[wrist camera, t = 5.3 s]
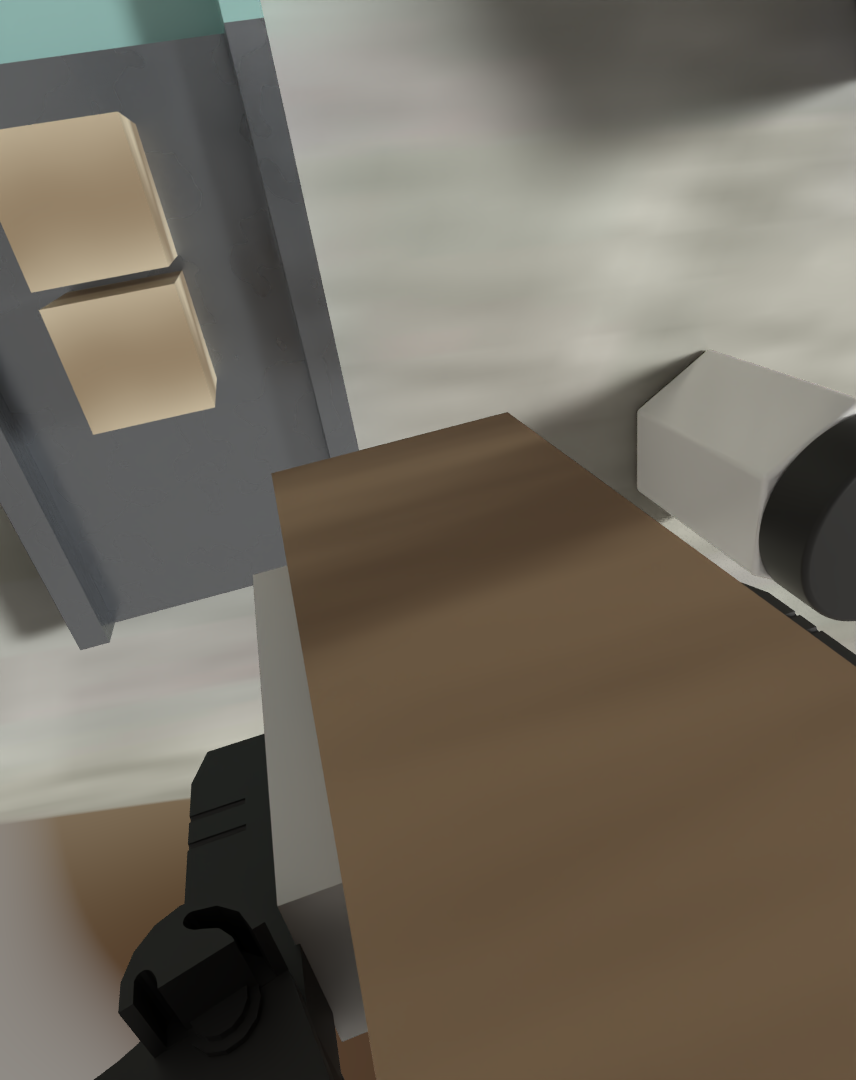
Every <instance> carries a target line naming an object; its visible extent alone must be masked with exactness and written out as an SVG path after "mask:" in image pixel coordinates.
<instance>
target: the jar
mask: <svg viewBox="0 0 856 1080" xmlns="http://www.w3.org/2000/svg"><path fill="white" fill-rule="evenodd" d="M637 490H638V491H639V492H640V493H642V494H643V495H644V496H646V497H647V498H649V499H650V500H651V501H653V502H654V503H655V504H657V505H658V506H659V507H661V508H662V509H664V510H665V511H666V512H668V513H669V514H670V515H672V516H673V517H674V518H676V519H677V520H679V521H680V522H681V523H683V524H684V525H685V526H687V527H688V528H689V529H691V530H692V531H694V532H695V533H696V534H698V535H699V536H700V537H702V538H703V539H704V540H706V541H707V542H709V543H710V544H711V545H713V546H714V547H715V548H717V549H718V550H719V551H721V552H722V553H724V554H725V555H726V556H728V557H729V558H730V559H732V560H733V561H735V562H736V563H737V564H739V565H740V566H741V567H743V568H744V569H745V570H747V571H748V572H750V573H751V574H752V575H754V576H758V577H762V578H767V579H771V580H774V581H775V582H776V583H778V584H779V585H780V586H782V587H783V588H785V589H786V590H787V591H789V592H790V593H791V594H793V595H794V596H796V597H797V598H798V599H800V600H801V601H803V602H804V603H805V604H807V605H808V606H810V607H811V608H812V609H814V610H815V611H817V612H818V613H820V614H821V615H823V616H825V617H828V618H831V619H834V620H839V621H856V397H854V396H851V395H848V394H845V393H842V392H839V391H836V390H833V389H830V388H827V387H824V386H821V385H818V384H815V383H812V382H809V381H806V380H803V379H800V378H797V377H794V376H791V375H787V374H784V373H781V372H778V371H775V370H772V369H769V368H766V367H763V366H760V365H757V364H754V363H751V362H748V361H745V360H742V359H739V358H736V357H733V356H730V355H727V354H724V353H721V352H718V351H715V350H707V351H705V352H704V353H703V354H702V355H701V356H700V357H699V358H697V359H696V360H695V361H694V362H693V363H692V364H691V365H689V366H688V367H687V368H686V369H685V370H684V371H682V372H681V373H680V374H679V375H678V376H677V377H676V378H674V379H673V380H672V381H671V382H670V383H669V384H667V385H666V386H665V387H664V388H663V389H662V390H661V391H659V392H658V393H657V394H656V395H655V396H654V397H652V398H651V399H650V400H649V401H648V402H647V403H645V404H644V405H643V406H642V407H641V408H640V409H639V410H638V412H637Z"/></svg>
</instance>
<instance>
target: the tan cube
mask: <svg viewBox="0 0 856 1080" xmlns="http://www.w3.org/2000/svg"><path fill="white" fill-rule="evenodd" d="M39 312H40V314H41V316H42V318H43V321H44V323H45V325H46V328H47V330H48V332H49V334H50V337H51V339H52V341H53V344H54V346H55V348H56V350H57V353H58V355H59V357H60V360H61V362H62V364H63V367H64V369H65V371H66V373H67V376H68V378H69V380H70V383H71V385H72V387H73V389H74V392H75V394H76V396H77V399H78V401H79V403H80V405H81V408H82V410H83V412H84V415H85V417H86V419H87V421H88V424H89V426H90V428H91V431H92V433H93V435H95V434H99V433H103V432H108V431H112V430H117V429H121V428H126V427H130V426H135V425H139V424H143V423H148V422H152V421H157V420H161V419H166V418H170V417H174V416H179V415H183V414H188V413H192V412H197V411H201V410H206V409H210V408H214V407H215V399H216V383H217V377H216V374H215V371H214V368H213V365H212V362H211V359H210V356H209V352H208V349H207V346H206V343H205V340H204V337H203V334H202V331H201V327H200V324H199V321H198V318H197V315H196V312H195V309H194V306H193V302H192V299H191V296H190V293H189V290H188V287H187V284H186V280H185V277H184V274H183V271H182V270H181V271H176V272H171V273H165V274H160V275H155V276H150V277H145V278H139V279H134V280H129V281H124V282H119V283H113V284H108V285H103V286H98V287H92V288H87V289H82V290H77V291H72V292H67V293H65V294H64V295H62V296H61V297H59V298H57V299H56V300H54V301H53V302H51V303H49V304H48V305H46V306H45V307H43V308H41V309H40V310H39Z"/></svg>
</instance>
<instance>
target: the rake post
mask: <svg viewBox="0 0 856 1080" xmlns="http://www.w3.org/2000/svg"><path fill="white" fill-rule="evenodd" d="M271 474H272V480H273V486H274V492H275V497H276V503H277V509H278V515H279V521H280V526H281V532H282V538H283V544H284V549H285V555H286V561H287V567H288V572H289V578H290V584H291V590H292V596H293V601H294V607H295V613H296V619H297V624H298V630H299V636H300V642H301V648H302V653H303V659H304V665H305V671H306V676H307V682H308V688H309V694H310V699H311V705H312V711H313V717H314V723H315V728H316V734H317V740H318V746H319V751H320V757H321V763H322V769H323V774H324V780H325V786H326V792H327V798H328V803H329V809H330V815H331V821H332V826H333V832H334V838H335V844H336V850H337V855H338V861H339V867H340V873H341V878H342V884H343V890H344V896H345V901H346V907H347V913H348V919H349V925H350V930H351V936H352V942H353V948H354V953H355V959H356V965H357V971H358V977H359V982H360V988H361V994H362V1000H363V1005H364V1011H365V1017H366V1023H367V1028H368V1034H369V1040H370V1045H371V1052H372V1057H373V1063H374V1069H375V1075H376V1080H856V666H854V665H853V664H851V663H850V662H849V661H847V660H846V659H845V658H843V657H842V656H840V655H839V654H838V653H836V652H835V651H834V650H832V649H831V648H830V647H828V646H827V645H825V644H824V643H823V642H821V641H820V640H819V639H817V638H816V637H814V636H813V635H812V634H810V633H809V632H808V631H806V630H805V629H804V628H802V627H801V626H799V625H798V624H797V623H795V622H794V621H793V620H791V619H790V618H788V617H787V616H786V615H784V614H783V613H782V612H780V611H779V610H778V609H776V608H775V607H773V606H772V605H771V604H769V603H768V602H767V601H765V600H764V599H762V598H761V597H760V596H758V595H757V594H756V593H754V592H753V591H752V590H750V589H749V588H747V587H746V586H745V585H743V584H742V583H741V582H739V581H738V580H736V579H735V578H734V577H732V576H731V575H730V574H728V573H727V572H725V571H724V570H723V569H721V568H720V567H719V566H717V565H716V564H715V563H713V562H712V561H710V560H709V559H708V558H706V557H705V556H704V555H702V554H701V553H699V552H698V551H697V550H695V549H694V548H693V547H691V546H690V545H689V544H687V543H686V542H684V541H683V540H682V539H680V538H679V537H678V536H676V535H675V534H673V533H672V532H671V531H669V530H668V529H667V528H665V527H664V526H663V525H661V524H660V523H658V522H657V521H656V520H654V519H653V518H652V517H650V516H649V515H647V514H646V513H645V512H643V511H642V510H641V509H639V508H638V507H637V506H635V505H634V504H632V503H631V502H630V501H628V500H627V499H626V498H624V497H623V496H621V495H620V494H619V493H617V492H616V491H615V490H613V489H612V488H611V487H609V486H608V485H606V484H605V483H604V482H602V481H601V480H600V479H598V478H597V477H595V476H594V475H593V474H591V473H590V472H589V471H587V470H586V469H585V468H583V467H582V466H580V465H579V464H578V463H576V462H575V461H574V460H572V459H571V458H569V457H568V456H567V455H565V454H564V453H563V452H561V451H560V450H559V449H557V448H556V447H554V446H553V445H552V444H550V443H549V442H548V441H546V440H545V439H543V438H542V437H541V436H539V435H538V434H537V433H535V432H534V431H532V430H531V429H530V428H528V427H527V426H526V425H524V424H523V423H522V422H520V421H519V420H517V419H516V418H515V417H513V416H512V415H511V414H509V413H508V412H506V413H502V414H499V415H495V416H491V417H487V418H483V419H479V420H475V421H472V422H468V423H464V424H460V425H456V426H452V427H448V428H444V429H441V430H437V431H433V432H429V433H425V434H421V435H417V436H414V437H410V438H406V439H402V440H398V441H394V442H390V443H387V444H383V445H379V446H375V447H371V448H367V449H363V450H360V451H356V452H352V453H348V454H344V455H340V456H336V457H333V458H329V459H325V460H321V461H317V462H313V463H309V464H306V465H302V466H298V467H294V468H290V469H286V470H282V471H278V472H275V473H271Z"/></svg>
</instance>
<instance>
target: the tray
mask: <svg viewBox="0 0 856 1080" xmlns="http://www.w3.org/2000/svg"><path fill="white" fill-rule="evenodd" d="M256 18H264V16H263V12H262V7H261V3H260V0H0V64H4V63H11V62H18V61H26V60H33V59H40V58H47V57H55V56H62V55H69V54H77V53H84V52H91V51H98V50H106V49H113V48H120V47H127V46H135V45H142V44H149V43H156V42H164V41H171V40H178V39H185V38H193V37H200V36H207V35H214V34H222V33H224V23H227V22H234V21H241V20H249V19H256Z"/></svg>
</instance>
